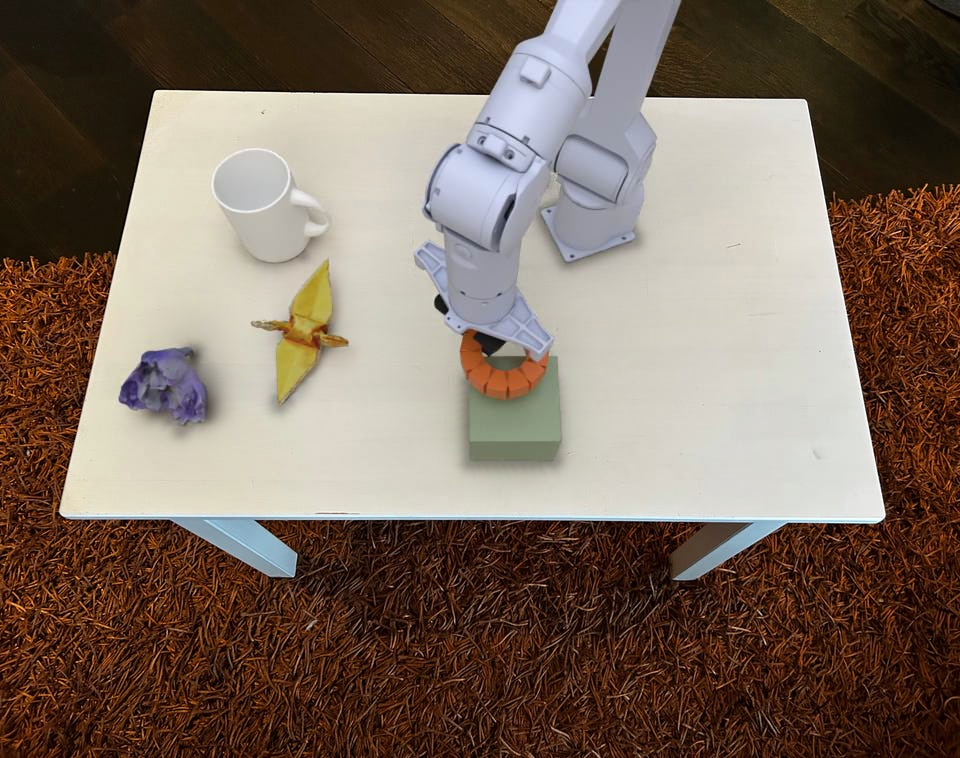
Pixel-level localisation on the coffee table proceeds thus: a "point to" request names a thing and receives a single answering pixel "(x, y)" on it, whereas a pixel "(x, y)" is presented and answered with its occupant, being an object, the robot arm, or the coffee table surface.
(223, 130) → the coffee table surface
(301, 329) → the origami crane
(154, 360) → the purple lumpy chunk
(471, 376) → the ring
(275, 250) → the mug
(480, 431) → the block
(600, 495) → the coffee table surface
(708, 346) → the coffee table surface
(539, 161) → the robot arm
